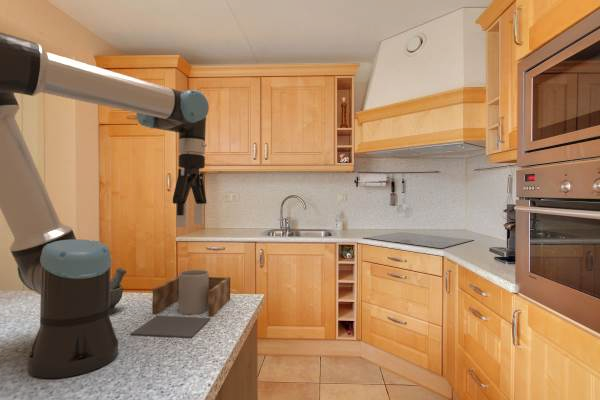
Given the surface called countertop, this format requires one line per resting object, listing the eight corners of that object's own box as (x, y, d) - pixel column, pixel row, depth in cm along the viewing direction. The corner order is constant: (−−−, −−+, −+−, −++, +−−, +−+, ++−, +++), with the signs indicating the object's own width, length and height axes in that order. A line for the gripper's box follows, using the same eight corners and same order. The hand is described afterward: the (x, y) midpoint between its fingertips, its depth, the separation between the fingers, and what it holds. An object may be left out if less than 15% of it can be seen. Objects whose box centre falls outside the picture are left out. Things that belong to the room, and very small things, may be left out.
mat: (191, 338, 82) (191, 336, 82) (130, 335, 83) (130, 333, 83) (210, 319, 95) (210, 317, 95) (157, 317, 96) (157, 315, 96)
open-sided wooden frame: (212, 316, 97) (212, 291, 97) (152, 313, 98) (152, 289, 98) (230, 298, 115) (230, 277, 115) (178, 296, 116) (179, 275, 116)
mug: (213, 310, 103) (214, 272, 103) (187, 316, 96) (187, 277, 97) (193, 301, 111) (194, 267, 111) (167, 307, 105) (168, 270, 105)
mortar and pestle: (92, 320, 92) (93, 275, 92) (76, 313, 98) (77, 270, 98) (133, 310, 101) (134, 269, 101) (117, 304, 107) (117, 265, 107)
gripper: (188, 148, 92) (186, 229, 91) (216, 160, 116) (215, 223, 116) (160, 148, 92) (158, 228, 92) (194, 159, 117) (193, 223, 117)
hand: (190, 225), depth 104 cm, fingers open, 13 cm apart
